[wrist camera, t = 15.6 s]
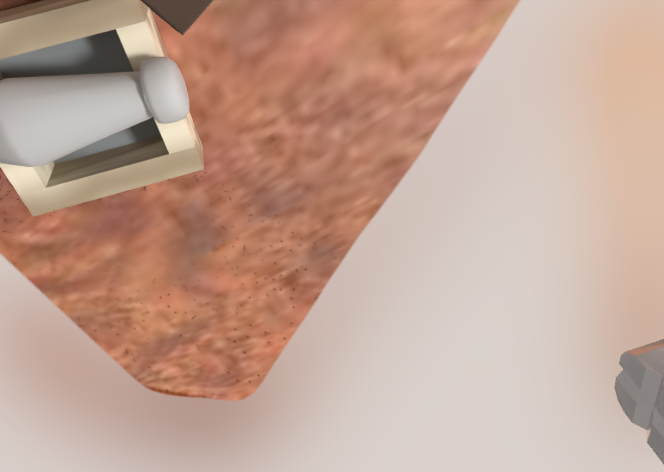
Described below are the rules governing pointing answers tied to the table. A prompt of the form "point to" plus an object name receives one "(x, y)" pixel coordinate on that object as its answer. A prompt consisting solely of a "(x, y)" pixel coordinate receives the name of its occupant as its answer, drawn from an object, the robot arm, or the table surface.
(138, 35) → the socket block
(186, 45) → the table surface
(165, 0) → the coffee box
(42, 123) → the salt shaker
